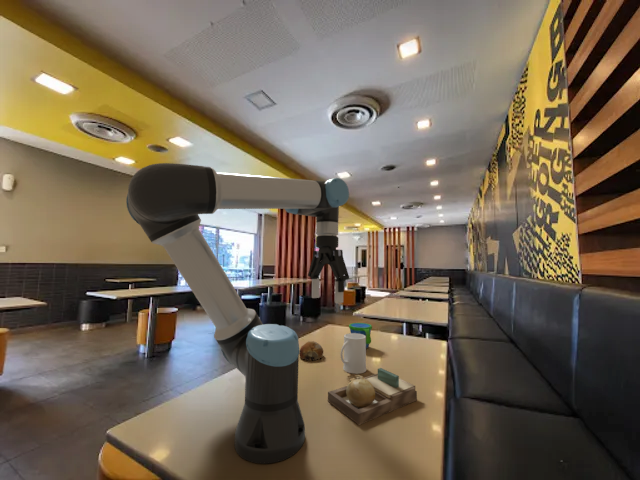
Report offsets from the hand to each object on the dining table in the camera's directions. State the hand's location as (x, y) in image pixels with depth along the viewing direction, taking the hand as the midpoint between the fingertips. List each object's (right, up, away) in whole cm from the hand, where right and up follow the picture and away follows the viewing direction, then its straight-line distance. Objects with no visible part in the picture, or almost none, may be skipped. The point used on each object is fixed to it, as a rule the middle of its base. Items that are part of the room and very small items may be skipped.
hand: (326, 300), depth 87 cm
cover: (+18, -24, -8) cm, 31 cm away
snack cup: (+17, -31, +37) cm, 51 cm away
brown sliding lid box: (+13, -26, -12) cm, 31 cm away
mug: (+9, -28, +10) cm, 31 cm away
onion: (+9, -25, -14) cm, 30 cm away
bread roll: (-6, -29, +23) cm, 38 cm away
